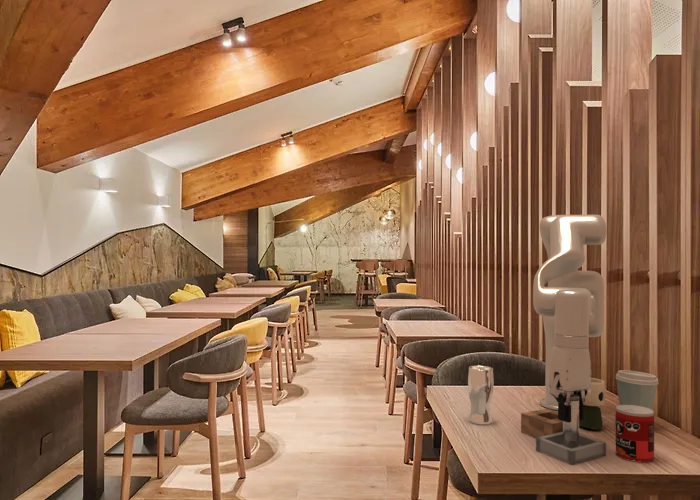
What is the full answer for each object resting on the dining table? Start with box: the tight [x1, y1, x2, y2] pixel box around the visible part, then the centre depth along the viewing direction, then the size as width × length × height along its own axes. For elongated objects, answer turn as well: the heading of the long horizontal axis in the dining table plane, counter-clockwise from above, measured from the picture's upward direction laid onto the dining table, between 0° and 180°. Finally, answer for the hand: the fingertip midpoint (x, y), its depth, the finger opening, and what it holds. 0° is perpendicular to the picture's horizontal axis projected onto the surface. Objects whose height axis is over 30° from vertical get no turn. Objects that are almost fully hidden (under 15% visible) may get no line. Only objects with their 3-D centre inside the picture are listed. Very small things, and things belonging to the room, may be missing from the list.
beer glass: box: [467, 365, 495, 426], centre depth 147 cm, size 7×7×15 cm
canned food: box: [614, 404, 655, 463], centre depth 122 cm, size 8×8×11 cm
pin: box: [562, 393, 580, 448], centre depth 124 cm, size 4×4×12 cm
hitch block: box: [520, 408, 563, 439], centre depth 136 cm, size 10×10×5 cm
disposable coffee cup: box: [615, 369, 659, 410], centre depth 145 cm, size 11×11×15 cm
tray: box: [535, 432, 607, 466], centre depth 124 cm, size 12×10×3 cm
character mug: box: [577, 377, 606, 430], centre depth 143 cm, size 11×7×13 cm, turn 150°
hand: (570, 418), depth 124 cm, fingers closed on pin, 3 cm apart
